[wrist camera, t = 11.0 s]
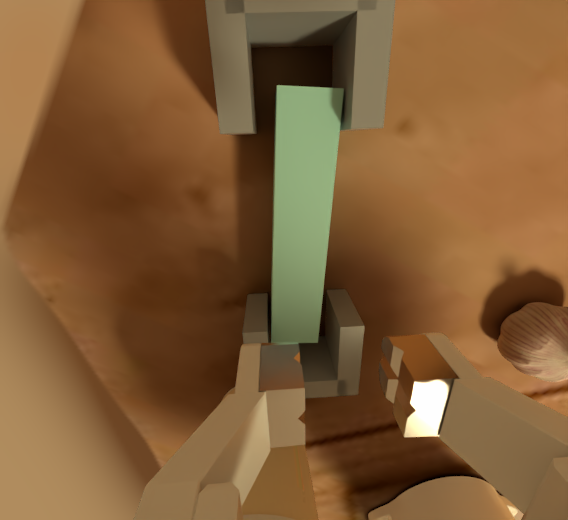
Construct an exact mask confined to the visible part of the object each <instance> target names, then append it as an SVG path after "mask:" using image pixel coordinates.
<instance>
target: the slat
mask: <svg viewBox="0 0 568 520" xmlns="http://www.w3.org/2000/svg"><path fill="white" fill-rule="evenodd" d="M343 94H344V88H325V87H305V86H286V85H277V88H276V94H275V130H274V178H273V226H272V274H271V343H275V342H298V343H318V337H319V327H320V318H321V308H322V298H323V289H324V279H325V269H326V259H327V250H328V240H329V230H330V220H331V211H332V201H333V191H334V181H335V172H336V162H337V152H338V142H339V133H340V123H341V113H342V103H343Z"/></svg>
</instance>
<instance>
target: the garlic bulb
mask: <svg viewBox="0 0 568 520" xmlns="http://www.w3.org/2000/svg"><path fill="white" fill-rule="evenodd" d="M497 346H498V349H499V351H500V353H501V354H502V356H503V357H504V358H506V359H507V360H508V361H510V362H511V363H512V364H513V366H514V367H515V368H516V369H517V370H519V371H520V372H522V373H524V374H527V375H530V376H534V377H536V378H538V379H541V380H544V381H548V382H559V381H563V380H565V379H568V307H561V306H554V305H551V304H548V303H543V302H533V303H529V304H527V305H525V306H523V307H522V308H521V309H520V310H519V311H517V312H515V313H512V314H511V315H509V316H508V317H507V318H506V319H505V320H504V321H503V323H502V325H501V334H500V336H499V338H498V341H497Z"/></svg>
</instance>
